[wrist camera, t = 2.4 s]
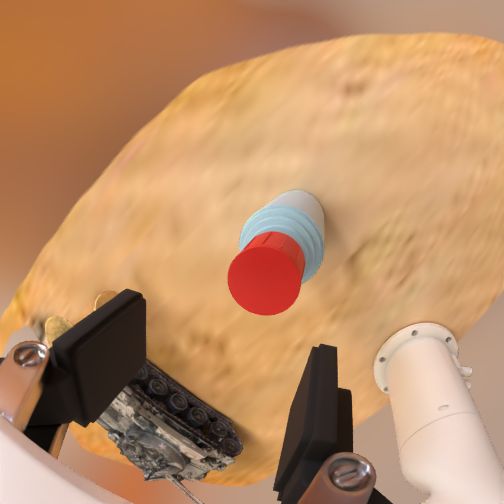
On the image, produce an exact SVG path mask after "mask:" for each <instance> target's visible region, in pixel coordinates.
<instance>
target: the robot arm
mask: <svg viewBox="0 0 504 504" xmlns="http://www.w3.org/2000/svg"><path fill="white" fill-rule="evenodd" d="M457 359H458V345H457V342H456V340H455V338H454V336H453V335H452V333H451V332H450V331H449V330H448V329H446V328H445V327H443V326H441V325H439V324H435V323H419V324H414V325H411V326H408V327H405V328H404V329H402V330H400V331H398V332H397V333H395V334H394V335H392V336H391V337H390V338H389V339H388V340H387V341H386V342H385V343H384V344H383V345H382V347H381V348H380V350H379V351H378V353H377V355H376V358H375V361H374V368H373V372H374V378H375V381H376V384H377V385H378V387H379V389H380V390H381V391H382V392H384V393H385V394H387V395H389V396H390V401H391V407H392V413H393V418H394V425H395V430H396V437H397V444H398V451H399V460H400V467H401V472H402V474H403V476H404V478H405V479H406V481H407V482H408V483H409V484H410V485H411V486H413V487H414V488H416V489H417V490H419V491H421V492H423V493H425V494H428V495H430V497H429V498H428V499H427V500H426V501H424V502H422V503H420V504H504V467H503V465H502V463H501V461H500V459H499V457H498V455H497V453H496V451H495V449H494V446H493V444H492V442H491V439H490V437H489V435H488V433H487V430H486V428H485V425H484V423H483V421H482V418H481V416H480V414H479V411H478V409H477V407H476V405H475V403H474V400H473V398H472V396H471V394H470V392H469V390H470V388H471V381H470V380H464V379H463V377H462V376H465V377H470V376H471V375H472V371H473V370H472V368H471V367H461V365H460V363H459V361H458V360H457ZM145 361H146V300H145V299H144V298H143V296H142V294H141V293H139V292H136V291H133V290H130V289H125V290H124V291H122V292H121V293H119V294H118V295H116V296H115V297H114V298H112V299H111V300H109V301H108V302H106V303H105V304H104V305H102V306H101V307H99V308H98V309H97V310H95V311H94V312H92V313H91V314H90V315H88V316H87V317H85V318H84V319H83V320H81V321H80V322H78V323H77V324H76V325H74V326H73V327H72V328H70V329H69V330H67V331H66V332H65V333H63V334H62V335H61V336H59V337H58V338H57V339H55V340H54V341H53V342H52V347H51V348H49V349H48V348H47V346H46V345H44V344H43V343H41V342H38V341H25V342H21V343H19V344H17V345H15V346H14V347H13V348H12V349H11V351H10V352H9V353H8V355H7V356H6V358H0V504H133V503H131V502H129V501H127V500H125V499H123V498H121V497H119V496H117V495H115V494H113V493H111V492H110V491H108V490H106V489H104V488H102V487H100V486H99V485H97V484H95V483H93V482H92V481H90V480H88V479H86V478H85V477H83V476H82V475H80V474H78V473H77V472H75V471H74V470H72V469H71V468H69V467H67V466H66V465H64V464H63V463H61V462H60V461H58V460H57V458H58V455H59V452H60V449H61V446H62V443H63V440H64V437H65V434H66V432H67V429H68V426H69V423H71V422H72V421H75V422H76V423H78V424H80V425H81V426H83V427H85V428H86V427H87V425H88V424H89V423H90V422H92V423H94V422H95V421H96V420H97V419H98V418H99V417H100V416H101V415H102V414H103V412H104V411H105V410H106V409H107V408H108V407H109V405H110V404H111V403H112V402H113V401H114V400H115V398H116V397H117V396H118V395H119V394H120V393H121V391H122V390H123V389H124V388H125V387H126V386H127V385H128V383H129V382H130V381H131V380H132V379H133V378H134V376H135V375H136V374H137V373H138V372H139V371H140V369H141V368H142V367H143V366H144V364H145ZM375 482H376V471H375V469H374V467H373V465H372V464H371V463H370V462H369V461H368V460H367V459H366V458H364V457H363V456H361V455H359V454H355V453H353V419H352V395H351V391H350V390H348V389H342V388H338V366H337V347H334V346H329V345H325V344H320V345H319V347H312V350H311V353H310V356H309V358H308V361H307V364H306V367H305V370H304V373H303V375H302V378H301V381H300V384H299V386H298V389H297V392H296V394H295V397H294V400H293V402H292V405H291V409H290V413H289V418H288V423H287V428H286V433H285V438H284V442H283V447H282V452H281V456H280V461H279V465H278V470H277V474H276V478H275V483H274V487H273V491H278V492H279V494H278V498H277V500H278V501H282V502H281V504H393V503H391V502H390V501H389V500H388V499H387V498H386V497H384V496H383V495H382V494H381V493H380V492H379V491H377V490H376V489H375V488H374V485H375Z"/></svg>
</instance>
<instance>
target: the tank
mask: <svg viewBox="0 0 504 504" xmlns="http://www.w3.org/2000/svg"><path fill="white" fill-rule="evenodd" d="M140 388H141V389H142V390H143V391H144V393H145V394H144V393H143V392H142V391H141V389H140ZM190 408H191V409H190ZM96 422H97V423H98V424H99V425H101V426H102V427H103V428H104V429H106V430H107V431H109V433H108V435H107V437H108V438H110V439H111V440H113V441H114V443H116V444H117V447H118V448H120V450H121V452H120V454H121V455H125V456H126V457H127V458H128V460H129V461H130V462H132V463H133V464H134V465H135V466H137V467H138V468H140V469H142V470H143V471H141V472H143V473H144V478H145V480H144V481H148V480H151V481H157V480H162V479H166V478H167V479H168V480H169V481H170V482H172V483H173V484H174V485H175V486H176V487H178V488H179V489H180V490H181V491H183V492H184V493H185V494H186V495H188V497H189V498H191V499H192V500H193V501H194V502H195V503H197V504H199V503H198V502H196V501H195V500H194V499H193V498H192V497H191V496H190V495H189V494H191V492H189V491H188V490H187V489H186V488H185V487H184V486H183V484H182V483H181V482H180V481H181V480H184V479H187V480H189V481H197V480H199V481H200V479H204V478H205V477H206V475H207V473H208V472H209V471H210V470H218V471H223V470H224V469H225V468H226V467H227V466H228V465H229V464H232V463H235V459H234V458H233V457H235V456H237V455H239V454H240V453H241V451H242V450H243V446H242V442H241V440H240V438H239V437H238V436H237V434H236V433H235V431H234V429H233V428H232V426H231V425H230V424H232V422H231V421H229V420H228V419H226V418H225V417H223V416H222V415H220V414H218V413H217V412H216V411H214V410H213V409H211V408H210V407H208V406H207V405H205V404H204V403H202V402H201V401H200V400H199V399H197V398H195V397H194V396H193V395H192V394H190V393H189V392H187V391H186V390H185V389H183V388H182V387H180V386H179V385H178V384H177V383H175V382H174V381H172V380H171V379H170V378H168V377H167V376H166V375H165V374H163V373H162V372H160V371H159V370H158V369H157V368H155V367H154V366H153V365H152V364H150V363H149V362H148V361H145V364H144V366H143V367H142V368H141V369H140V371H139V372H138V373H137V374H136V375H135V376H134V378H133V379H132V380H131V381H130V382H129V383H128V385H127V386H126V387H125V388H124V389H123V390H122V391H121V393H120V394H119V395H118V396H117V397H116V398H115V400H114V401H113V402H112V403H111V404H110V405H109V407H108V408H107V409H106V410H105V411H104V412H103V414H102V415H101V416H100V417H99V418H98V419H97V420H96ZM202 425H204V426H206V427H208V428H209V430H210V434H209V435H208V436H206V434H205V433H204V431H203V428H202ZM232 459H233V460H232ZM224 466H225V467H224ZM221 469H222V470H221ZM177 475H178V478H179V479H178V478H177ZM175 482H176V483H178V484H179V485H180V486H181V487H182V488H184V489H185V490H186V491H187V492H188V493H189V494H188V493H186V492H185V491H184V490H183V489H182V488H181V487H179V486H178V485H177V484H176V483H175ZM191 495H192V496H193V497H194V498H195V499H196V500H197V501H199V502H200V503H201V504H204V503H202V502H201V501H200V500H198V499H197V498H196V497H195V496H194V495H193V494H191Z"/></svg>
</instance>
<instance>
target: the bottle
mask: <svg viewBox="0 0 504 504" xmlns="http://www.w3.org/2000/svg"><path fill="white" fill-rule="evenodd" d="M270 231H273V232H281V233H284V234H286V235H289V236H290V237H292V238H293V239H294V240H295V241H296V242H297V243H298V244H299V245H300V246H301V249H302V251H303V253H304V257H305V262H306V264H305V269H304V274H303V279H302V282H301V284H303V283H304V282H306V281H308V280H309V279H310V278H311V277H312V276H313V275H314V274H315V273H316V272H317V270H318V269H319V267H320V265H321V263H322V260H323V256H324V212H323V209H322V206H321V204H320V203H319V201H318V200H317V199H316V198H315V197H314V196H312V195H311V194H309V193H307V192H305V191H300V190H291V191H287V192H284V193H282V194H281V195H279V196H278V197H276V198H275V199H274V200H272V201H271V202H270V203H268V204H267V205H265V206H264V207H263V208H261V209H260V210H259V211H257V212H256V213H255V214H253V215H252V216H251V217H250V218H249V219H248V221H247V222H246V223H245V225H244V227H243V229H242V231H241V235H240V239H239V252H241V251H242V250H243V249H244V248H245V246H246V245H247V244H248V243H249V242H250V241H251V240H252V239H253V238H254V237H255V236H258V235H260V234H262V233H265V232H270Z"/></svg>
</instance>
